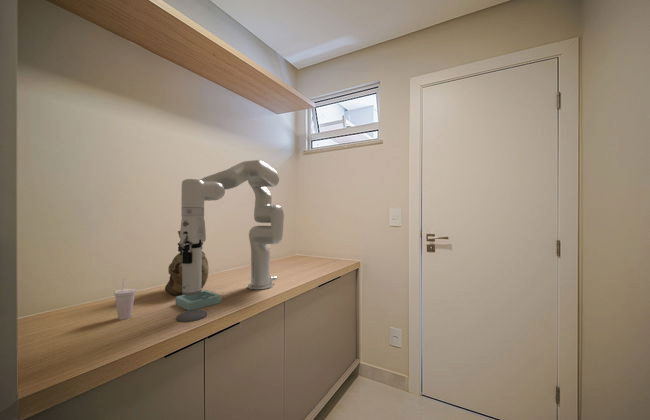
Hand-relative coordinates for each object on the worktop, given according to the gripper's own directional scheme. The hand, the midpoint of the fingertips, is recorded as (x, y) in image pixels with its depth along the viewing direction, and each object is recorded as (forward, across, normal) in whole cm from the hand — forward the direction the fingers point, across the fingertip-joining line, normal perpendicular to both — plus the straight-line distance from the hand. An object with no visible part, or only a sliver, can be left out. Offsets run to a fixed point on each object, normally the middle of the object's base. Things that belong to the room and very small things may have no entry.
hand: (192, 261), depth 95 cm
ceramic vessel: (+20, +33, +19) cm, 43 cm away
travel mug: (+12, 0, 0) cm, 12 cm away
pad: (+20, 0, 0) cm, 20 cm away
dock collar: (+20, +15, +5) cm, 25 cm away
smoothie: (+20, 0, +24) cm, 31 cm away
